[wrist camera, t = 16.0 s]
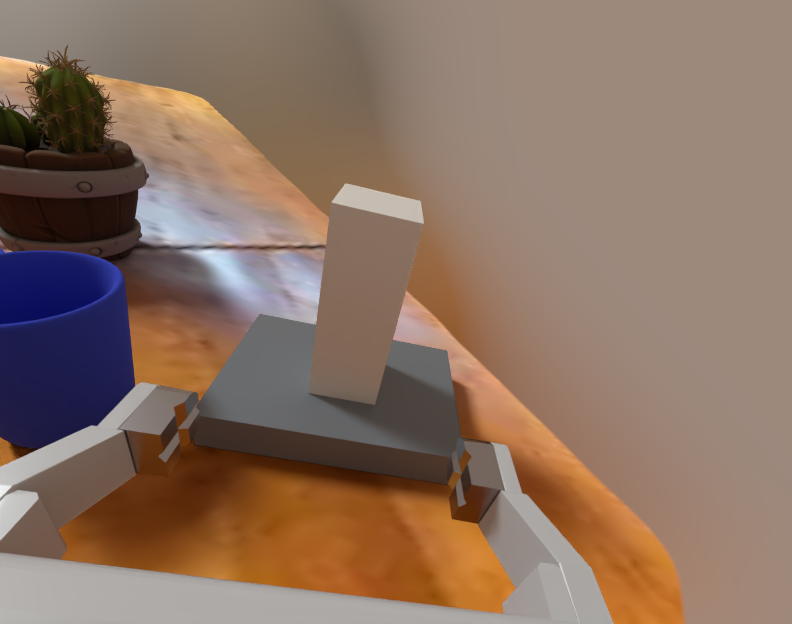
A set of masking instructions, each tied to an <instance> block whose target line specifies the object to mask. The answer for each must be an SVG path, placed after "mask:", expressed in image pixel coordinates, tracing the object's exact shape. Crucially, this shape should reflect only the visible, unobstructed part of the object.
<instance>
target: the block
mask: <svg viewBox="0 0 792 624" xmlns="http://www.w3.org/2000/svg"><path fill="white" fill-rule="evenodd" d="M423 225H424V221H423V214H422V208H421V201H417V200H413V199H409V198H405V197H401V196H397V195H392V194H388V193H383V192H380V191H375V190H371V189H367V188H363V187H358V186H354V185H350V184H345V185H344V186H343V188H342V189H341V190H340V192H339V193H338V194H337V196H336V197H335V198H334V200H333V201H332V202H331V209H330V217H329V225H328V233H327V241H326V250H325V258H324V266H323V274H322V282H321V290H320V298H319V306H318V314H317V323H316V331H315V339H314V347H313V355H312V363H311V371H310V379H309V387H308V393H311V394H316V395H322V396H327V397H333V398H339V399H344V400H350V401H355V402H361V403H367V404H372V405H375V403H376V399H377V396H378V392H379V388H380V385H381V381H382V377H383V373H384V370H385V366H386V362H387V359H388V355H389V351H390V348H391V344H392V340H393V336H394V333H395V329H396V325H397V322H398V318H399V314H400V310H401V307H402V303H403V299H404V296H405V292H406V288H407V284H408V281H409V277H410V273H411V270H412V266H413V262H414V259H415V254H416V251H417V247H418V244H419V240H420V236H421V233H422V229H423Z"/></svg>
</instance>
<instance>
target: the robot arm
mask: <svg viewBox="0 0 792 624" xmlns="http://www.w3.org/2000/svg"><path fill="white" fill-rule="evenodd" d="M198 401H199V400H198V394H197V393H196V392H191V391H186V390H181V389H176V388H171V387H166V386H161V385H155V384H150V383H144V382H142V383H140V384H138V385H136V386H135V387H134V388H133V389H132V390H131V391H130V392H129V393H128V394H127V395H126V396H125V397H124V398H123V400H122V401H121V402H120V403H119V404H118V405H117V406H116V407H115V408H114V409H113V410H112V411H111V412H110V413H109V414H108V415H107V416H106V417H105V418H104V419H103V420H102V421H101V422H100V424H99V425H98V426H92V425H91V426H89V427H87V428H84V429H82V430H80V431H78V432H76V433H73V434H71V435H69V436H67V437H65V438H63V439H60V440H58V441H56V442H54V443H52V444H49V445H47V446H45V447H43V448H41V449H38V450H36V451H34V452H32V453H30V454H28V455H25V456H23V457H21V458H19V459H17V460H14V461H12V462H10V463H8V464H6V465H3V466H1V467H0V624H614V623H613V621H612V618H611V616H610V613H609V611H608V608H607V606H606V603H605V601H604V598H603V596H602V593H601V591H600V588H599V586H598V583H597V581H596V578H595V576H594V573H593V571H592V568H591V567H590V566H589V565H588V564H587V563H586V562H585V560H584V559H583V558H582V557H581V556H580V555H579V554H578V552H577V551H576V550H575V549H574V548H573V547H572V545H571V544H570V543H569V542H568V541H567V540H566V539H565V537H564V536H563V535H562V534H561V533H560V532H559V531H558V529H557V528H556V527H555V526H554V525H553V524H552V523H551V521H550V520H549V519H548V518H547V517H546V516H545V515H544V513H543V512H542V511H541V510H540V509H539V508H538V506H537V505H536V504H535V503H534V502H533V501H532V500H531V498H530V497H529V496H528V495H527V494H523V493H522V490H521V487H520V484H519V481H518V477H517V474H516V471H515V468H514V464H513V461H512V458H511V455H510V451H509V448H508V447H507V446H506V445H503V444H497V443H490V442H487V441H481V440H474V439H468V438H462V437H461V438H460V439H458V441H457V443H456V450H457V451H455V452H453V453H451V456H450V458H449V460H448V466H447V482H448V485H449V486H450V487H451V489H452V490H453V491H452V493H451V495H450V497H449V500H450V508H451V516H452V519H455V520H460V521H466V522H472V523H477V524H478V526H479V528H480V529H481V531H482V533H483V535H484V536H485V538H486V540H487V541H488V543H489V545H490V546H491V548H492V550H493V551H494V553H495V555H496V556H497V558H498V560H499V561H500V563H501V565H502V566H503V568H504V570H505V571H506V573H507V575H508V576H509V578H510V580H511V581H512V583H513V585H514V586H515V588H516V589H515V590H514V591H513V592H512V593H511V594H510V595H509V596H508V598H507V599H506V600H505V601H504V602H503V604H502V606H503V611H504V614H502V613H494V612H486V611H477V610H469V609H461V608H453V607H445V606H437V605H428V604H420V603H412V602H404V601H396V600H387V599H379V598H371V597H363V596H355V595H347V594H338V593H330V592H322V591H314V590H305V589H297V588H289V587H281V586H273V585H264V584H256V583H248V582H240V581H231V580H223V579H215V578H207V577H199V576H190V575H182V574H174V573H166V572H157V571H149V570H141V569H133V568H125V567H116V566H108V565H100V564H92V563H83V562H75V561H67V560H60V559H61V558H62V556H63V555H64V554H65V552H66V551H67V547H66V543H65V541H64V539H63V538H62V536H61V534H60V532H59V531H58V529H60V528H61V527H63V526H64V525H66V524H67V523H68V522H70V521H71V520H73V519H74V518H76V517H77V516H78V515H80V514H81V513H83V512H84V511H86V510H87V509H88V508H90V507H91V506H93V505H94V504H96V503H97V502H98V501H100V500H101V499H103V498H104V497H106V496H107V495H108V494H110V493H111V492H113V491H114V490H116V489H117V488H118V487H120V486H121V485H123V484H124V483H126V482H127V481H128V480H130V479H131V478H133V477H134V476H136V473H139V474H147V475H156V476H164V477H169V475H170V474H171V472H172V471H173V469H174V467H175V466H176V464H177V463H178V461H179V460H180V458H181V457H182V454H181V448H182V447H184V446H186V445H187V444H189V443H190V442H191V441H192V439H193V437H194V436H195V434H196V431H197V429H198V426H199V422H200V411H199V410H198V409H197V408H196V407H195V405H196V404H197V403H198Z"/></svg>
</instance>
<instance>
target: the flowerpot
mask: <svg viewBox="0 0 792 624" xmlns="http://www.w3.org/2000/svg"><path fill="white" fill-rule="evenodd" d="M67 47H68V46H67ZM67 47H66V49H65V52H64V58H63V56H62V55H61V53H60V52H58V53H59V54H60V56H61V57H62V59H63V60H62V59H61V58H60V57H59V56H57V55H56V54H55V55H56V56H57V57H58V59H57V60H55V61H54V63H53V62H52V61H50V59H49V54H48V57H47V58H48V59H47V58H46V59H47V60H49V61H50V62H49V63H50V64H51V65H50V66H51V68H49V69H47V70H45V71H44V72H43V73H41V72H42V70H43V69H44V68H43V66H42V68H43V69H42V68H41V71H39V70H40V69H39V70H38V71H37V72H36V70H35V71H33V70H34V69H33V70H31V69H32V68H30V71H33V72H35V75H37V76H36V77H39V78H38V79H37V80H36V81H35V83H34V78H35V77H33V82H32V81H31V80H30V78H29V77H27V79H28V78H29V79H28V80H29V81H30V82H29V81H28V80H27V81H28V82H29V84H32V86H33V87H35V89H36V92H35V91H34V88H33V89H32V88H31V89H32V90H33V93H34V92H35V93H36V94H37V95H36V94H35V93H34V94H33V95H36V96H37V97H34V99H35V101H36V99H39V101H38V102H39V103H38V102H37V103H36V105H34V104H35V103H34V104H33V103H31V102H32V101H31V100H29V101H31V102H30V103H31V104H32V105H33V107H32V105H31V104H30V105H31V107H23V105H22V108H34V109H32V111H33V112H35V111H36V110H37V111H36V112H37V113H36V112H35V113H36V114H37V115H34V116H31V115H30V116H31V117H30V116H29V115H28V114H27V113H26V112H25V111H24V112H25V113H26V114H27V115H28V117H29V119H27V118H26V117H25V116H23V115H22V114H20V113H18V112H16V111H14V110H13V109H15V107H16V106H19V105H10V102H9V100H8V98H7V100H8V102H9V107H10V108H9V107H5V106H4V103H2V102H1V101H0V102H1V104H2V105H3V106H0V240H1V241H2V243H3V244H4V245H5V246H6V247H7V248H8V249H9V250H11V251H13V252H18V251H66V252H75V253H81V254H87V255H91V256H95V257H98V258H101V259H104V260H106V261H108V262H109V261H113V260H115V259H117V257H124V256H126V255H128V254H129V253H131V251H132V250H133V247H134V245H136V244H137V242H138V240H139V238H141V237H142V234H141V232H140V231H141V226H140V223H139V222H138V220H137V219H135V215H136V208H137V201H138V189H140V188H142V187H143V186H144V185H145V184H146V180H147V178H148V177H149V174H148V173H146V169H145V166H144V164H143V162H142V161H141V159H139V158H138V157H137V156H135V155H133V153H132V150H131V148H130V146H129V145H128V144H126V143H123V142H122V141H118V140H114V139H109V138H106V136H105V135H107V136H108V137H109V136H110V135H111V134H105V133H106V132H105V131H106V130H108V128H107V129H104V127H105V125H106V123H108V122H109V121H108V120H111V118H112V117H113V116H112V115H111V116H112V117H111V116H110V118H109V117H108V116H107V114H108V113H111V112H104V111H106V110H107V109H109V106H110V105H109V103H110V102H109V103H108V101H114V100H107V99H108V98H109V97H108V96H109V95H108V96H107V99H106V98H105V99H104V98H103V97H104V94H103V95H102V96H103V97H102V96H101V94H102V93H103V92H102V91H101V90H100V91H101V92H102V93H101V92H100V91H99V92H100V93H101V94H100V93H99V92H98V90H99V88H96V87H100V88H101V87H103V86H104V85H105V84H104V85H103V86H102V85H98V84H97V85H95V83H94V80H93V78H91V79H92V80H93V83H92V84H93V85H92V84H91V83H90V82H89V80H88V79H87V78H86V77H89V76H87V75H88V74H89V73H86V72H85V70H86V69H87V68H89V67H87V68H86V69H84V70H81V69H82V68H79V67H78V68H79V69H77V70H76V66H77V65H76V62H78V61H82V60H77V61H76V59H75V60H72V61H70V62H68V61H67V56H66V50H67ZM51 53H53V52H51ZM53 54H54V53H53ZM54 59H55V58H54ZM59 59H60V60H61V61H62V62H61V63H60V62H59ZM57 61H58V65H56V64H57ZM41 62H42V61H41ZM51 62H52V63H53V64H54V65H53V64H52V63H51ZM74 62H75V66H73V65H71V64H72V63H74ZM45 63H46V62H45ZM55 63H56V64H55ZM62 63H63V64H62ZM40 66H41V65H40ZM46 66H47V67H49V65H46ZM36 67H37V65H36ZM72 67H75V69H73V68H72ZM37 69H38V67H37ZM78 70H79V71H78ZM82 71H84V72H83V73H82ZM80 72H81V73H80ZM84 73H86V74H85V75H84ZM90 75H94V74H90ZM27 76H28V74H27ZM32 76H34V75H32ZM30 77H31V76H30ZM89 78H90V77H89ZM31 79H32V78H31ZM28 82H18V83H28ZM98 83H99V82H98ZM94 85H95V86H96V87H95V86H94ZM32 86H28V87H26V88H27V90H28V88H29V89H30V87H32ZM26 88H25V89H26ZM31 89H30V90H31ZM32 90H31V91H32ZM104 90H106V89H104ZM27 93H28V91H27ZM29 93H30V92H29ZM109 93H110V92H109ZM4 94H5V93H4ZM30 94H32V93H30ZM5 95H6V94H5ZM6 97H7V96H6ZM38 97H39V98H38ZM30 98H33V96H31V97H30ZM30 98H29V99H30ZM2 101H3V100H2ZM104 102H106V103H107V104H108V105H109V106H108V108H103V106H104V105H105V104H106V103H105V104H104ZM37 104H38V106H37ZM11 106H14V107H12V108H11ZM34 106H35V107H34ZM19 107H21V106H19ZM106 107H107V106H106ZM111 107H112V106H111ZM35 108H36V109H35ZM20 109H21V108H20ZM103 109H106V110H104V111H103ZM111 109H112V108H111ZM111 109H109V110H111ZM22 110H24V109H22ZM33 112H32V113H33ZM32 113H31V114H32ZM106 113H107V114H106ZM104 114H105V115H106V116H104ZM109 115H110V114H109ZM107 117H108V118H109V119H108V120H107ZM30 118H31V120H30ZM117 122H118V121H117ZM109 123H111V124H112V123H115V122H109ZM109 123H108V124H109ZM108 124H107V125H108ZM109 125H110V124H109ZM112 125H113V124H112ZM110 126H111V125H110ZM104 130H105V131H104ZM110 130H111V129H110ZM110 130H109V131H110ZM112 130H113V129H112ZM109 131H107V132H109ZM104 134H105V135H104ZM103 135H104V136H103ZM104 137H105V138H104ZM111 137H112V136H111Z"/></svg>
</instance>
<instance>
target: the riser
mask: <svg viewBox="0 0 792 624" xmlns="http://www.w3.org/2000/svg"><path fill="white" fill-rule="evenodd" d="M315 331H316V325H313V324H308V323H303V322H298V321H293V320H288V319H283V318H278V317H273V316H267V315H262V314H260V315H259V316H258V317H257V319H256V320H255V322H254V323H253V325H252V326H251V328H250V329H249V330H248V332H247V333H246V335H245V336H244V338H243V339H242V341H241V342H240V344H239V345H238V346H237V348H236V349H235V351H234V352H233V354H232V355H231V357H230V358H229V359H228V361H227V362H226V364H225V365H224V367H223V368H222V370H221V371H220V372H219V374H218V375H217V377H216V378H215V380H214V381H213V383H212V384H211V385H210V387H209V388H208V390H207V391H206V393H205V394H204V396H203V397H202V399H201V400H200V401H199V403H198V404H197V406H196V408H197V409H198V410H199V411H200V422H199V426H198V429H197V431H196V434H195V436H194V445H200V446H207V447H213V448H219V449H225V450H232V451H238V452H244V453H251V454H257V455H263V456H270V457H276V458H282V459H289V460H295V461H301V462H308V463H314V464H320V465H327V466H333V467H339V468H346V469H352V470H358V471H365V472H371V473H377V474H384V475H390V476H396V477H402V478H409V479H415V480H421V481H428V482H434V483H440V484H447V485H448V482H447V466H448V460H449V458H450V456H451V453H453V452H455V451H457V450H456V443H457V441H458V439H460V438H461V431H460V425H459V419H458V413H457V407H456V401H455V395H454V389H453V383H452V377H451V371H450V365H449V359H448V353H447V351H446V350H441V349H436V348H431V347H426V346H421V345H415V344H410V343H405V342H400V341H395V340H392V344H391V348H390V351H389V355H388V359H387V362H386V366H385V370H384V373H383V377H382V381H381V385H380V388H379V392H378V396H377V399H376V403H375V405H372V404H367V403H361V402H355V401H350V400H344V399H339V398H333V397H327V396H322V395H316V394H311V393H308V387H309V379H310V371H311V363H312V355H313V347H314V339H315Z"/></svg>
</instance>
